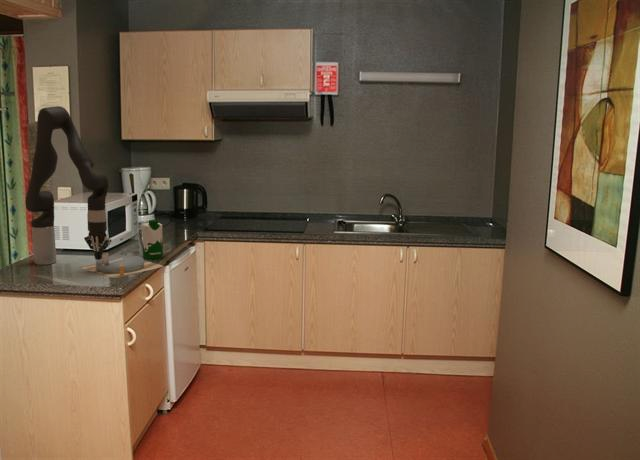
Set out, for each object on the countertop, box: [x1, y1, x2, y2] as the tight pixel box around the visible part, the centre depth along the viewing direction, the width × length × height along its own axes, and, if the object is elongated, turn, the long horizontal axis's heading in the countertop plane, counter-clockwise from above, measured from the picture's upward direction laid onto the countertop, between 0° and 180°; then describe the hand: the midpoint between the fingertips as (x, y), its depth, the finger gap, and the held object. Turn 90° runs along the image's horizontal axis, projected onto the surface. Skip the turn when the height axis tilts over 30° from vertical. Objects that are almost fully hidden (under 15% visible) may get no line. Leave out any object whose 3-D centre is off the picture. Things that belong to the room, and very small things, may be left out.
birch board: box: [79, 260, 166, 279], centre depth 243 cm, size 26×26×6 cm
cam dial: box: [95, 252, 145, 273], centre depth 241 cm, size 20×20×8 cm
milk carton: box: [140, 219, 164, 261], centre depth 259 cm, size 9×9×20 cm
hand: (98, 259), depth 234 cm, fingers closed
